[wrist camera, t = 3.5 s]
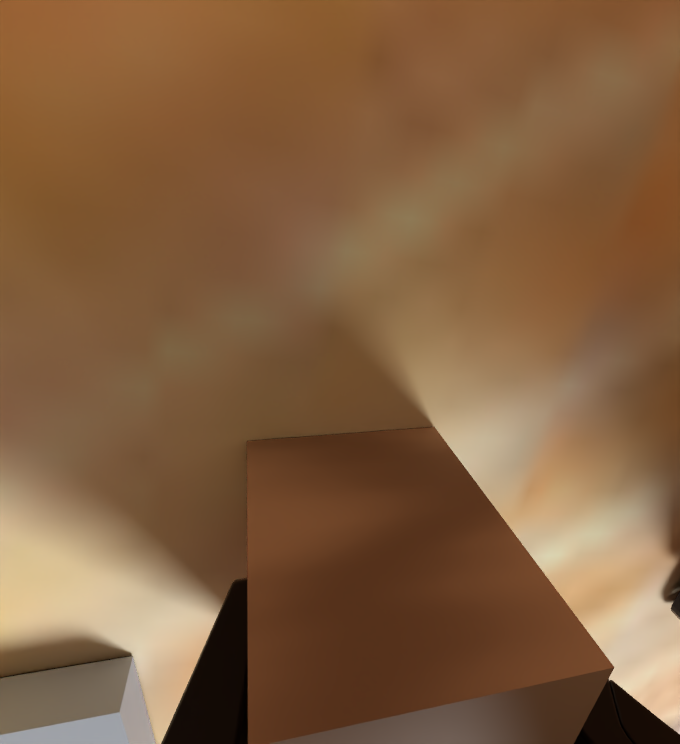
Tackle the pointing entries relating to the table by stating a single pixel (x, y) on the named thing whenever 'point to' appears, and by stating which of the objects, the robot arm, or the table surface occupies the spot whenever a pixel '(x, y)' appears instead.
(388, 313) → the table surface
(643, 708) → the robot arm
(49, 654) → the table surface
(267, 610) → the walnut brick
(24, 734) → the build board
